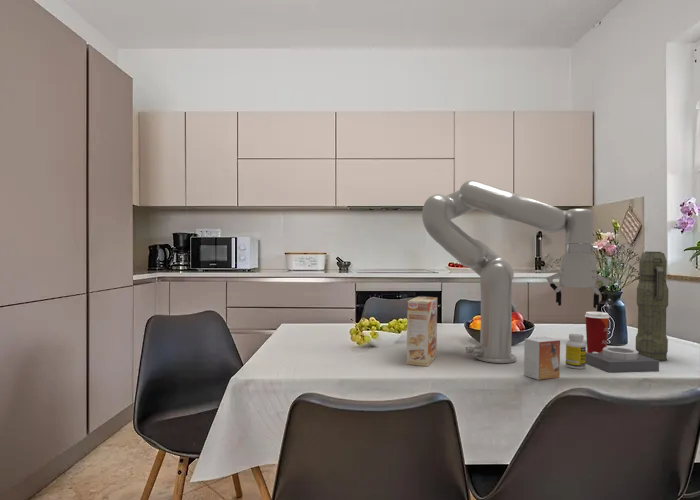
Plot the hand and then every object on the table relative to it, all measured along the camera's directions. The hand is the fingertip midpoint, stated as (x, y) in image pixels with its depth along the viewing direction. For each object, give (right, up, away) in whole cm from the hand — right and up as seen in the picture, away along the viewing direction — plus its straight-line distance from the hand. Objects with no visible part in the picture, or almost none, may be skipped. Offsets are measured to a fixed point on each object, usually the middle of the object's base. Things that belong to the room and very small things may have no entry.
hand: (576, 306), depth 147 cm
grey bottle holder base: (+13, -18, +1) cm, 23 cm away
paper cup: (+15, -19, +18) cm, 30 cm away
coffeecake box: (-46, -18, +7) cm, 50 cm away
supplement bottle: (-1, -19, 0) cm, 19 cm away
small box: (-15, -19, -11) cm, 26 cm away
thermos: (+30, -19, +12) cm, 37 cm away
